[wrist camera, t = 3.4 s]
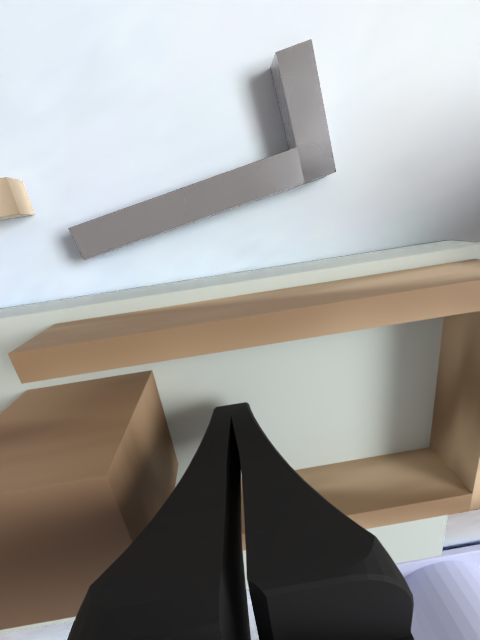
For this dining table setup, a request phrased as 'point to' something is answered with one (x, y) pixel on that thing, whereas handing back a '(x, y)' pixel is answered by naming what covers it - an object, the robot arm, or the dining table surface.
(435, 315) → the wooden u-shaped frame
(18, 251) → the dining table surface
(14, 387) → the board
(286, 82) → the crook tool
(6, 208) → the stick
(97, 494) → the cube
